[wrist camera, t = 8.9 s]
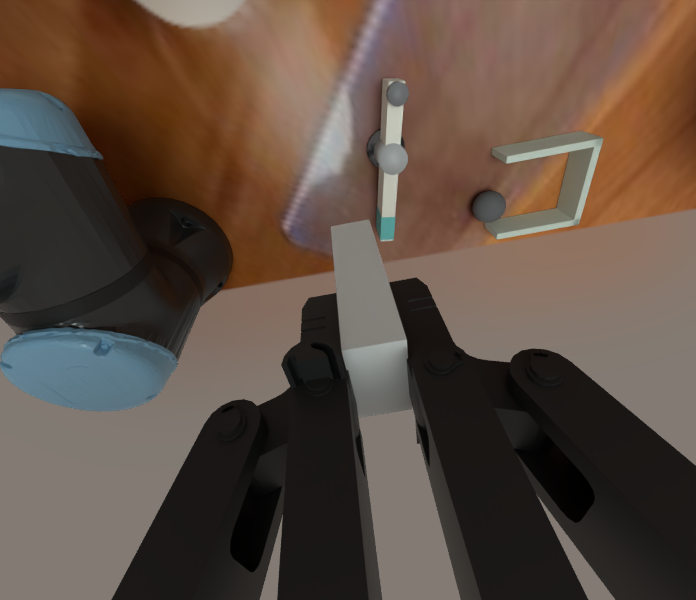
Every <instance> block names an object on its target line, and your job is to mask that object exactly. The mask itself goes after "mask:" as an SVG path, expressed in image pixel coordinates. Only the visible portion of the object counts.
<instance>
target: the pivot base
mask: <svg viewBox="0 0 696 600" xmlns="http://www.w3.org/2000/svg"><path fill="white" fill-rule="evenodd" d="M380 132H381V129H379V130H377V131H375V132H374V133H373V134H372V135H371V137H370V138H369V141H368V144H367V154H368V157H369V159H370V161H371V162H372V163H373V164H374V165H375V166H376V167H379V163H378V161H377V159H376V157H375V155H374V146H375V144H376V142H377V141H378V140H379V139H380ZM400 145H401V146H402V147H403V148H404V140H403V138H402V136H401V144H400Z"/></svg>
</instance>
